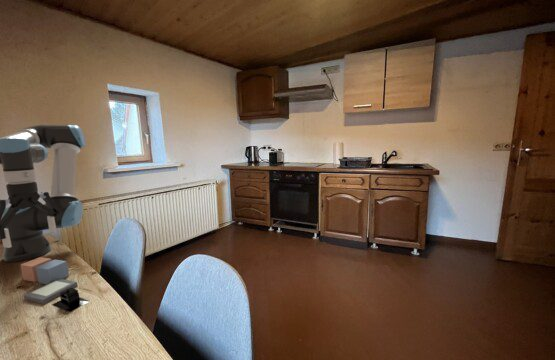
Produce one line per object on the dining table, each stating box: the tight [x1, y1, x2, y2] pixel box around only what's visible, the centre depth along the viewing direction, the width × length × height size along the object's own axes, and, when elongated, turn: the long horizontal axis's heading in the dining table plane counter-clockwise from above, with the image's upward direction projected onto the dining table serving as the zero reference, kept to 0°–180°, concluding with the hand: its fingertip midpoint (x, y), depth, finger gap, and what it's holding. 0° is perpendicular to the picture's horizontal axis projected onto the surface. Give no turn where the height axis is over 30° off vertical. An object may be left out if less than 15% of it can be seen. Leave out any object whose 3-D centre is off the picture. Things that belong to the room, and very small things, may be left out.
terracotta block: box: [20, 256, 52, 283], centre depth 92 cm, size 6×6×6 cm
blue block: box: [36, 259, 70, 285], centre depth 90 cm, size 6×6×6 cm
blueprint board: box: [23, 278, 79, 305], centre depth 82 cm, size 10×9×2 cm
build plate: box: [51, 288, 90, 313], centre depth 76 cm, size 12×7×5 cm, turn 67°
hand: (32, 239), depth 90 cm, fingers open, 13 cm apart
